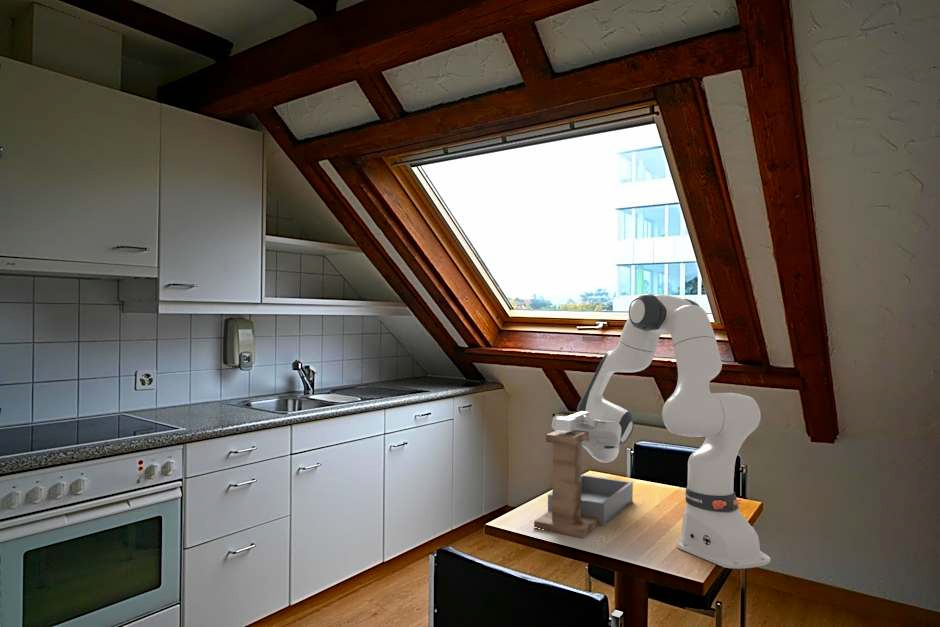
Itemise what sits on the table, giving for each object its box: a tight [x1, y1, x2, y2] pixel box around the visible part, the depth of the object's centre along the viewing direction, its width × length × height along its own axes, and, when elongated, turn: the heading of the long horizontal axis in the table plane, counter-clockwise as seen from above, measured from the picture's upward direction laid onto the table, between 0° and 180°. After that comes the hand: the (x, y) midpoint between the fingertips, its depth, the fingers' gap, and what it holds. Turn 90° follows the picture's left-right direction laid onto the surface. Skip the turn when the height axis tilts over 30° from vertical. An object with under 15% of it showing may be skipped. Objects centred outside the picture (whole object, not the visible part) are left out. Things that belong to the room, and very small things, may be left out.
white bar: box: [554, 411, 589, 431], centre depth 179 cm, size 17×4×3 cm, turn 149°
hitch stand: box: [533, 430, 599, 539], centre depth 175 cm, size 12×14×26 cm
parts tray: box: [547, 474, 634, 526], centre depth 193 cm, size 27×17×6 cm, turn 149°
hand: (578, 417), depth 182 cm, fingers closed on white bar, 2 cm apart
